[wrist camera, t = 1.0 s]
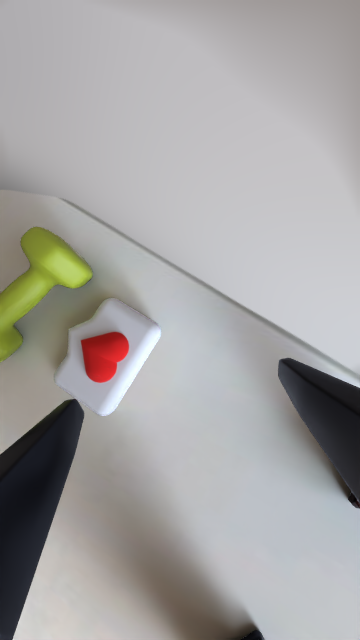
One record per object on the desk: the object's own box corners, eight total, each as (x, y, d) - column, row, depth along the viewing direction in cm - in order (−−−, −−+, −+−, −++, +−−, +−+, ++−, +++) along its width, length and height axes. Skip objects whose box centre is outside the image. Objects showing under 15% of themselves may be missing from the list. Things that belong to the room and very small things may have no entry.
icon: (86, 279, 20) (161, 324, 19) (104, 291, 25) (166, 329, 23) (20, 375, 19) (95, 430, 18) (51, 370, 23) (113, 415, 22)
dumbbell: (16, 369, 24) (-59, 377, 17) (-17, 326, 25) (-100, 318, 18) (108, 281, 25) (75, 254, 18) (72, 245, 26) (27, 206, 19)
